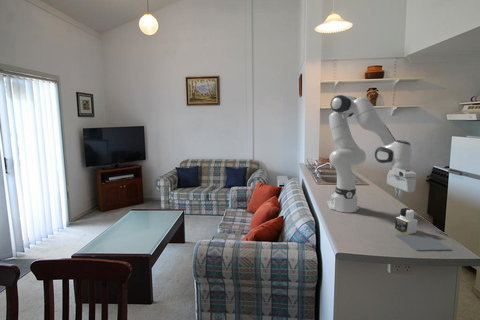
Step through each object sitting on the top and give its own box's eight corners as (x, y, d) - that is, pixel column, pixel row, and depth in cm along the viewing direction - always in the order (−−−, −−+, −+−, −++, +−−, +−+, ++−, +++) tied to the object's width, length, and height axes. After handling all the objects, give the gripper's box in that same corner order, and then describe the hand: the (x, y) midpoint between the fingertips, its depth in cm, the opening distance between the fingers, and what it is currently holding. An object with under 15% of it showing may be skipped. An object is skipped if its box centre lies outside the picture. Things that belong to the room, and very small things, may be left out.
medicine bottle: (394, 229, 149) (396, 207, 147) (404, 227, 151) (406, 206, 149) (406, 235, 142) (408, 212, 140) (416, 233, 144) (419, 210, 142)
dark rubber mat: (395, 235, 141) (395, 234, 141) (427, 235, 142) (427, 234, 142) (416, 250, 126) (416, 249, 125) (451, 250, 126) (451, 249, 126)
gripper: (384, 167, 161) (382, 191, 163) (406, 174, 140) (404, 201, 142) (395, 167, 161) (393, 191, 163) (418, 174, 141) (416, 201, 142)
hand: (398, 196), depth 152 cm, fingers closed
